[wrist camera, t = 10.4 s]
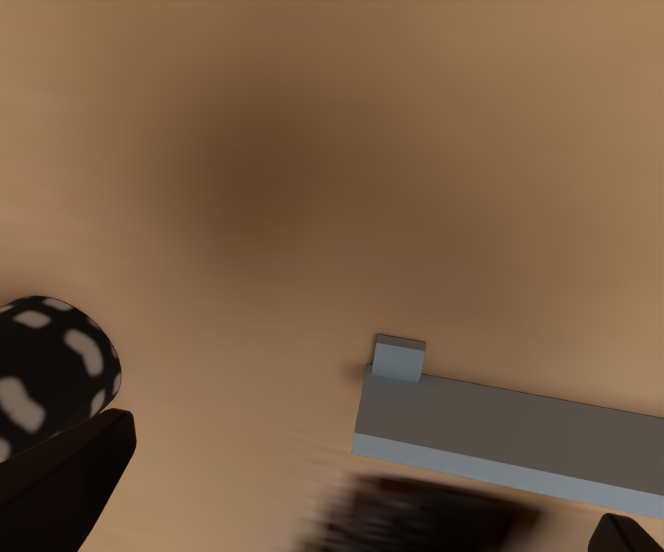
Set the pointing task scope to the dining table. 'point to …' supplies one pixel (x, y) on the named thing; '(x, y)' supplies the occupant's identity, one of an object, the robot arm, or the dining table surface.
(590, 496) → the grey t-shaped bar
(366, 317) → the dining table surface
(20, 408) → the spotted tube
